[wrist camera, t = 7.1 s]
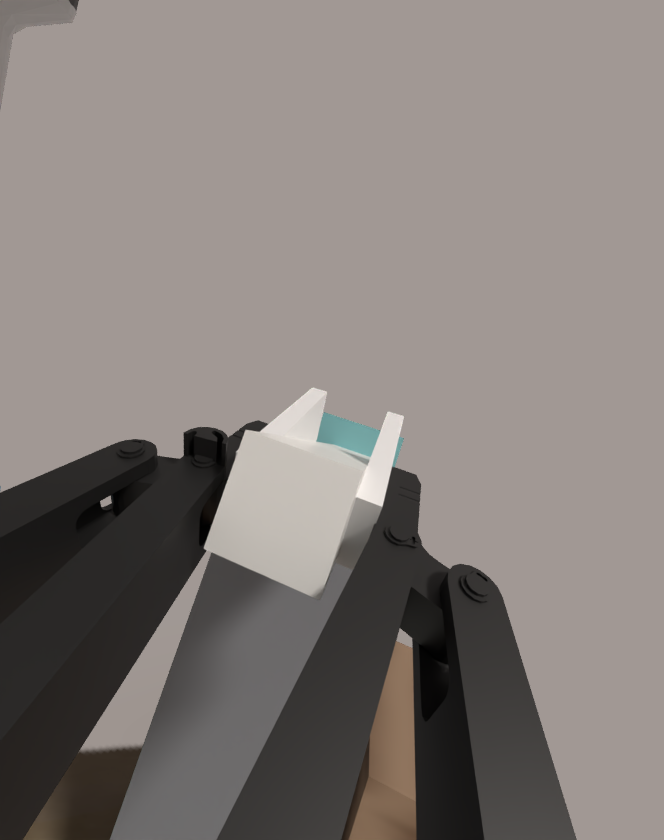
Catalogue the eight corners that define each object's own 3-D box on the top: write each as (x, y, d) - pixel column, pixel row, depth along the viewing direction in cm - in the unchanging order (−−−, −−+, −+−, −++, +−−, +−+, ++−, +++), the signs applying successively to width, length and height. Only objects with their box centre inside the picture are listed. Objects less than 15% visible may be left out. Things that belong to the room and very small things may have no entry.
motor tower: (28, 1069, 15) (234, 489, 17) (180, 800, 27) (293, 474, 29) (202, 1223, 14) (413, 560, 15) (284, 864, 25) (398, 513, 27)
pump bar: (151, 525, 8) (219, 336, 8) (318, 472, 28) (335, 420, 29) (385, 629, 7) (456, 407, 7) (380, 495, 27) (398, 441, 27)
